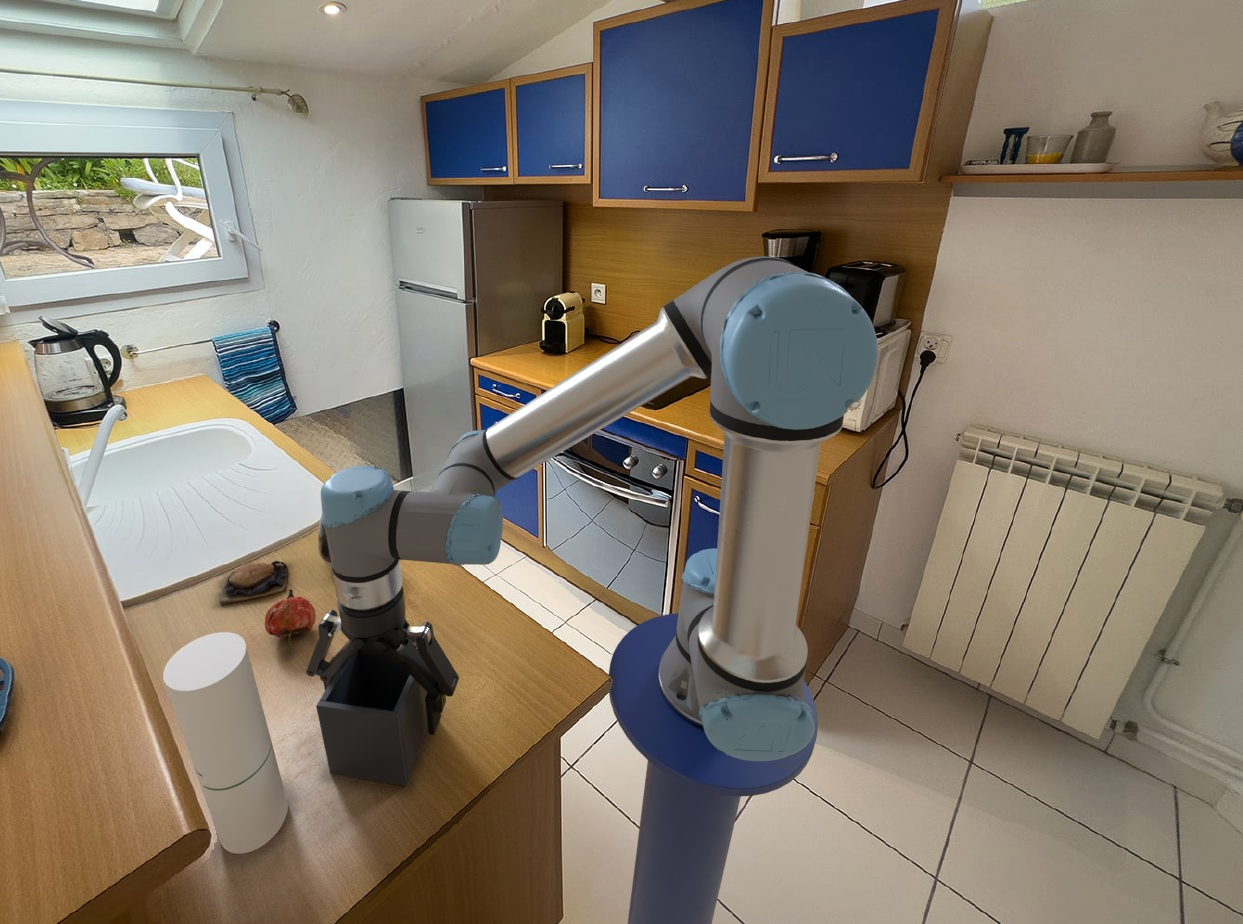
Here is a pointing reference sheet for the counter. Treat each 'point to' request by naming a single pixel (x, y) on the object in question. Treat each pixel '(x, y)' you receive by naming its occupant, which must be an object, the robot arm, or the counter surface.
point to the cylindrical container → (228, 739)
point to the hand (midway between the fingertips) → (388, 718)
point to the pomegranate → (290, 617)
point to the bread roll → (254, 581)
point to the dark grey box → (373, 720)
